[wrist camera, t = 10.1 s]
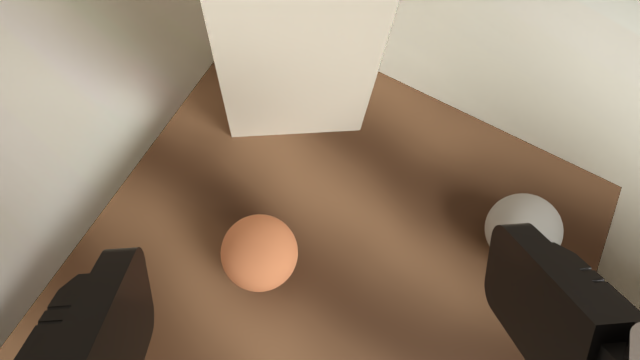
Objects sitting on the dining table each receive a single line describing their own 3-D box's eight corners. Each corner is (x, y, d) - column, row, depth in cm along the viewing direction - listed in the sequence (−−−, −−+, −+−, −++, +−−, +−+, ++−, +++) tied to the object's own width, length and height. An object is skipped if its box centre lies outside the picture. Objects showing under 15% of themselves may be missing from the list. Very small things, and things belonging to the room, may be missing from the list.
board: (253, 30, 26) (251, 11, 25) (602, 198, 24) (621, 187, 23) (-4, 382, 19) (-26, 382, 18) (455, 668, 17) (470, 695, 16)
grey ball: (487, 195, 22) (516, 169, 19) (549, 225, 22) (588, 204, 19) (464, 252, 21) (491, 233, 18) (528, 285, 21) (566, 272, 18)
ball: (249, 214, 21) (243, 190, 18) (309, 246, 21) (313, 227, 18) (211, 275, 20) (199, 259, 17) (275, 310, 20) (273, 300, 17)
